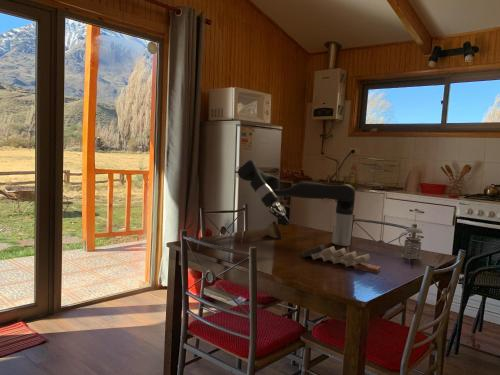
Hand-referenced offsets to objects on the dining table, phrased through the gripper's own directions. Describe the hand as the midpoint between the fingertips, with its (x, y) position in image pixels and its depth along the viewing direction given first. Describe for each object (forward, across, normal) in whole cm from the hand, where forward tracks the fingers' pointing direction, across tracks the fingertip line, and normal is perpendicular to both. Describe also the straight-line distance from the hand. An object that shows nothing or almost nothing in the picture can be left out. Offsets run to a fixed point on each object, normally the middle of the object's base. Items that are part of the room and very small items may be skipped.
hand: (287, 223), depth 193 cm
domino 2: (+20, 0, +1) cm, 20 cm away
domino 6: (+34, 0, +14) cm, 37 cm away
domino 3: (+24, 0, +4) cm, 24 cm away
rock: (-4, -28, -25) cm, 37 cm away
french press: (+47, -38, +25) cm, 66 cm away
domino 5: (+31, 0, +12) cm, 33 cm away
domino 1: (+16, 0, -3) cm, 17 cm away
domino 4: (+27, 0, +8) cm, 28 cm away
